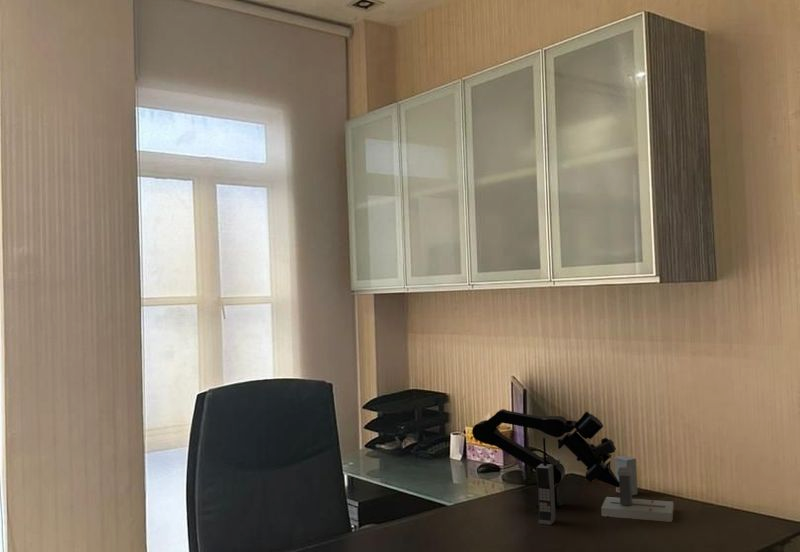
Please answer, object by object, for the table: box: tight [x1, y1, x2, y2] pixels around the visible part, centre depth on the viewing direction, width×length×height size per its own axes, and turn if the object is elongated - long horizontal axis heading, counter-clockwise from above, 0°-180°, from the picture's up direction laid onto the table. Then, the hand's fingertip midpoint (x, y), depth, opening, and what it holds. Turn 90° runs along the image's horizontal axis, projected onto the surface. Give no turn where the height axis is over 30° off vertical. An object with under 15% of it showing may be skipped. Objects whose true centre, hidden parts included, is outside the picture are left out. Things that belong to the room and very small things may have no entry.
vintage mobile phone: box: [535, 437, 556, 526], centre depth 212 cm, size 4×5×25 cm
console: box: [600, 496, 675, 523], centre depth 216 cm, size 20×12×3 cm, turn 67°
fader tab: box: [618, 467, 633, 506], centre depth 218 cm, size 4×6×10 cm, turn 157°
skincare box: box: [614, 454, 638, 496], centre depth 237 cm, size 6×4×12 cm
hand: (619, 486), depth 218 cm, fingers closed, pressing on fader tab
